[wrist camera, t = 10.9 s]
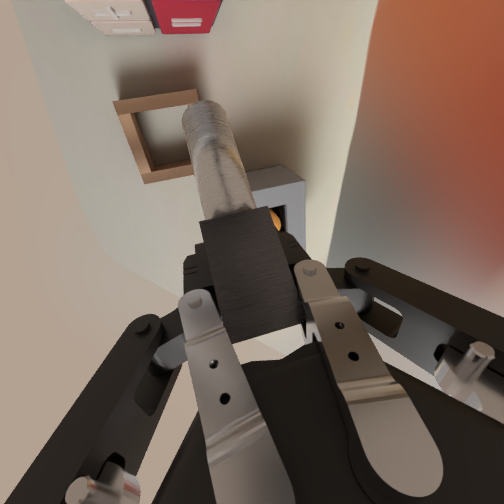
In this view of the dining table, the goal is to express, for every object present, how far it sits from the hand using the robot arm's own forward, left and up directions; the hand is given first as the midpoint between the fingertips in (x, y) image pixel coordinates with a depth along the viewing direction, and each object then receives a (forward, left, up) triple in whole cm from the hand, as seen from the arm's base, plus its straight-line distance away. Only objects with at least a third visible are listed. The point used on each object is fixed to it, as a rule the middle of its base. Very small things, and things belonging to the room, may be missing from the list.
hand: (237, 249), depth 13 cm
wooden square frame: (-4, -4, -22) cm, 23 cm away
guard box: (+7, +5, -22) cm, 24 cm away
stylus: (-6, 0, -5) cm, 8 cm away
